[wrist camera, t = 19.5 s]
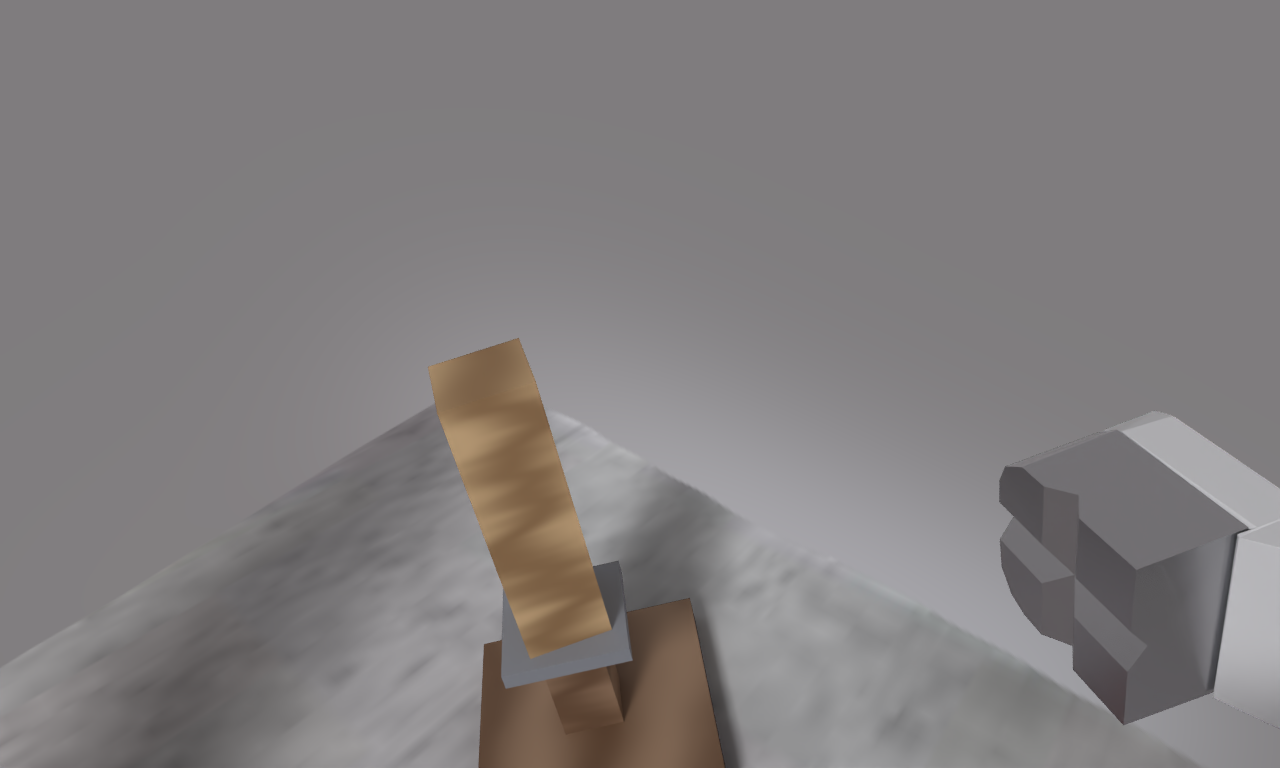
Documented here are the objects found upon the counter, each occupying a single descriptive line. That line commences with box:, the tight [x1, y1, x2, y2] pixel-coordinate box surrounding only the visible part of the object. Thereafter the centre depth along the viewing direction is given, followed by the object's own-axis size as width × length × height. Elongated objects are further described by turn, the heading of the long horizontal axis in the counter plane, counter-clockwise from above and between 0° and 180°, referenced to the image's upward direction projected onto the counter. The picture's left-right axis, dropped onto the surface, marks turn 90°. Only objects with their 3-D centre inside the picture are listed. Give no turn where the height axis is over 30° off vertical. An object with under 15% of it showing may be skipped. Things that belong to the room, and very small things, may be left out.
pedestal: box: [479, 561, 725, 768], centre depth 50 cm, size 12×12×8 cm
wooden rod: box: [428, 338, 612, 659], centre depth 44 cm, size 4×4×14 cm
